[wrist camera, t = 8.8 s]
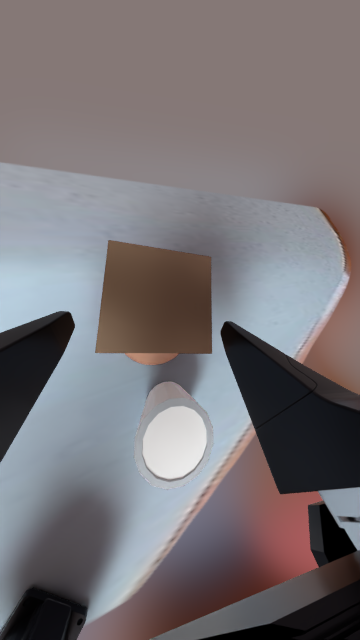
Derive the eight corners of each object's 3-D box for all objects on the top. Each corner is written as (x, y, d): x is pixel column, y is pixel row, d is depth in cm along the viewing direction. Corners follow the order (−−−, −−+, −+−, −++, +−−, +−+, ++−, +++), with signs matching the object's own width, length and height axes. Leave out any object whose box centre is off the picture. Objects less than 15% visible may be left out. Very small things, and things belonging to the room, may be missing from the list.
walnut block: (170, 343, 18) (211, 353, 6) (135, 343, 17) (95, 352, 5) (171, 311, 19) (211, 256, 6) (138, 309, 18) (108, 240, 5)
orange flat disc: (164, 377, 18) (165, 379, 18) (99, 338, 17) (97, 338, 16) (200, 317, 21) (201, 316, 20) (144, 280, 20) (144, 278, 19)
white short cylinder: (195, 422, 18) (221, 470, 12) (144, 439, 17) (140, 508, 10) (186, 371, 19) (205, 388, 12) (136, 383, 17) (127, 411, 11)
